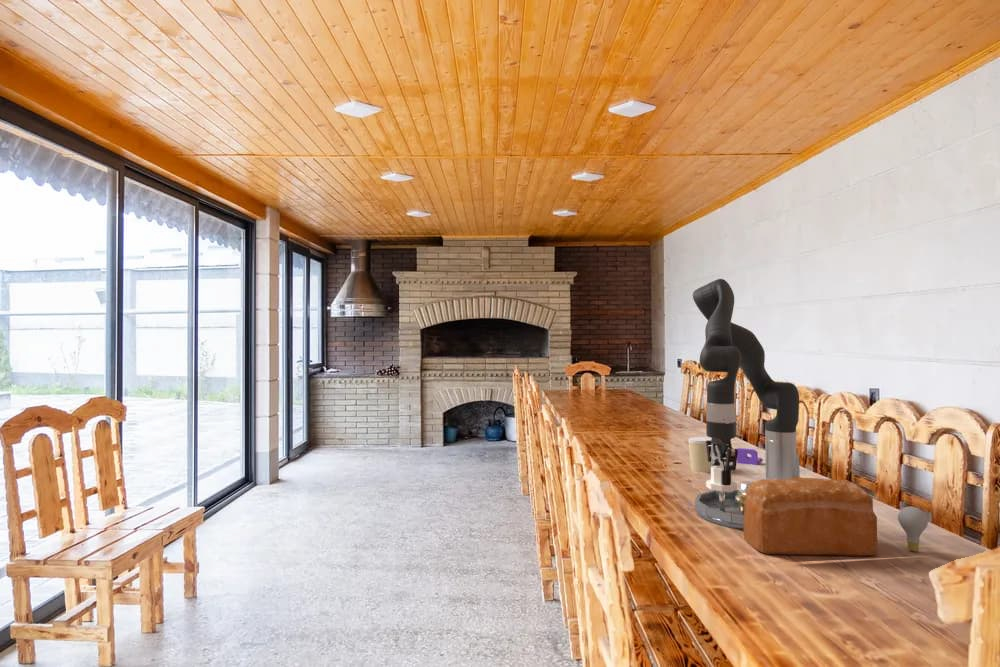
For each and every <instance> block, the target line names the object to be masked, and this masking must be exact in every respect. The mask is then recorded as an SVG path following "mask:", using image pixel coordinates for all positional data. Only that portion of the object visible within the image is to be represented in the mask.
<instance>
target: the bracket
mask: <svg viewBox="0 0 1000 667" xmlns="http://www.w3.org/2000/svg"><path fill="white" fill-rule="evenodd" d="M736 449H737V450H738V454H737V463H736V464H742V465H751V464H752V465H754V466H757V465H758V464H759V463H760V462H761V461H762V457H759V456H758V451H757V450H756V449H753V448H744V447H737V448H736ZM748 455H750V456H748ZM760 460H761V461H760Z"/></svg>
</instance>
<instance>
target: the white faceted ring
mask: <svg viewBox="0 0 1000 667" xmlns="http://www.w3.org/2000/svg"><path fill="white" fill-rule="evenodd" d="M732 473H733V470H732V471H731V485H723V484H722V467H721V465H718V466H711V472H710V479H707V480H706V481H705V488H708V489H710V491H712V490H716V491H734V490H738V489H737V488H738V483H737V482H735V481H733V480H732V479H733V478H732V476H733V474H732Z"/></svg>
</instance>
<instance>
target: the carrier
mask: <svg viewBox="0 0 1000 667" xmlns="http://www.w3.org/2000/svg"><path fill="white" fill-rule="evenodd" d="M753 482H754V481H747V480H746V481H744V480H743V481H739V489H736V490H734V491H716V490H709V491H705V492H701V493H698V494H697V495H696V497H695V500H694V508H695V509H696V511H695V512H696V514H697V516H698V517H700V518H701V519H703V520H705V521H706V522H710V523H711V524H715V525H717V526H721V527H725V528H730V529H735V530H740V531H744V504H745V499H746V496H747V491H748V486H750V485H751V484H752V483H753Z"/></svg>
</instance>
